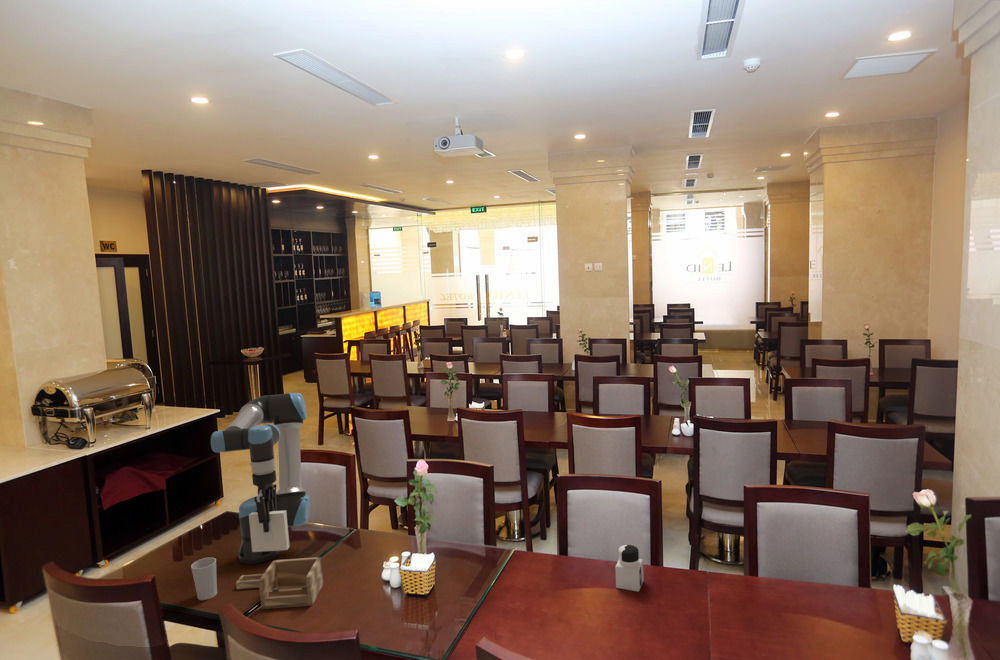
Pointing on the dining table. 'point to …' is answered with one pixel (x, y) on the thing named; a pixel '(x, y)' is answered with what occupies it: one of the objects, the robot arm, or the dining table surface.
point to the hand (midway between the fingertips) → (270, 538)
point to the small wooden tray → (248, 581)
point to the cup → (205, 578)
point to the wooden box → (291, 583)
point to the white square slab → (278, 532)
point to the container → (629, 569)
